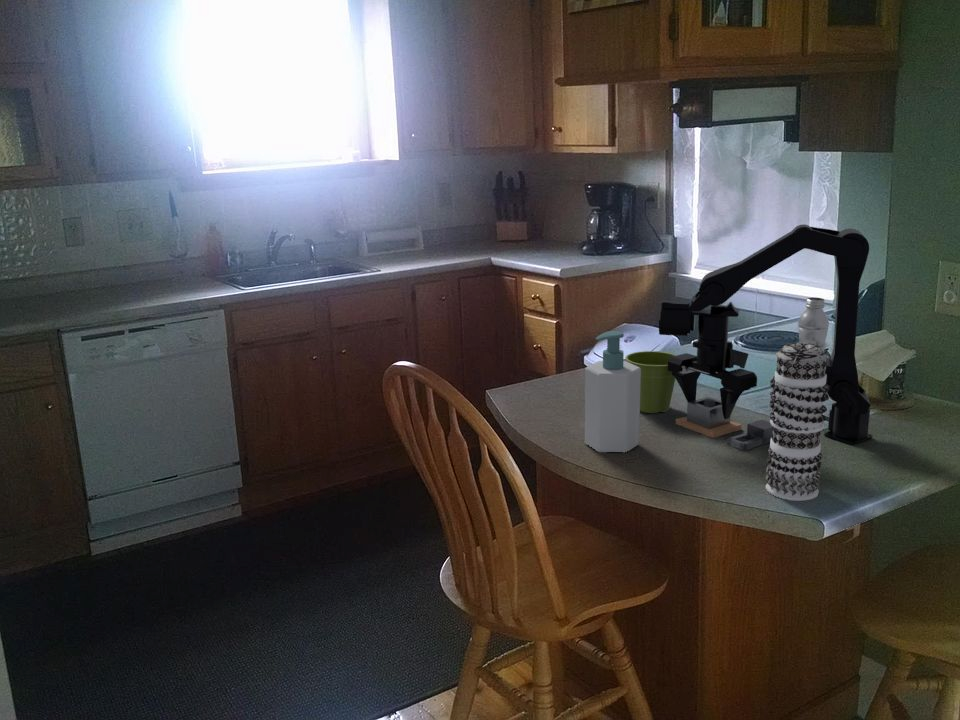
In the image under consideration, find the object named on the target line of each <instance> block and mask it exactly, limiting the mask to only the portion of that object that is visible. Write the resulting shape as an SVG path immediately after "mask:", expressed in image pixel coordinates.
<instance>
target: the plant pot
mask: <svg viewBox="0 0 960 720" xmlns="http://www.w3.org/2000/svg"><path fill="white" fill-rule="evenodd" d="M677 355H678V354H674V353H671V352H666V351H657V350H652V351H651V350H645V351H637V352H631V353H629V354H627V355H626V356H625V361H626V362H629V363H631V364H633V365H635V366H637V367H640V369H641V384H640V413H641V412H642V413H646V414H647V413H648V414H658V413H659V412H662V413H665V412H667V411H668V410H669V409H670V405H671V400H672V395H673V390H674V387H675V382H676V378H675V377H674V376H673V375H672V373H673V372H672V371H668V361H669V359H670V358H671V357H672V356H677Z"/></svg>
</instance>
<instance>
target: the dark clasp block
mask: <svg viewBox="0 0 960 720" xmlns="http://www.w3.org/2000/svg"><path fill="white" fill-rule="evenodd" d="M746 425H747V426H746V432H744V433H741V434H738V435H735V436H731V437H728V438H727V439H726V445H728V446H730V447H732V448H736V449H738V450H740V451H743V452H744V451H746V450H749V449H753V448H757V447H759V446H762V445H766V444H768V443H770V440H771V438H772V429H773V426H772V425H771V423H770V421H766V420H765V419H760V420H756V421H753V422H749V423H747V424H746Z"/></svg>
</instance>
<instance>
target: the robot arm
mask: <svg viewBox="0 0 960 720" xmlns="http://www.w3.org/2000/svg"><path fill="white" fill-rule="evenodd" d="M805 249H806V250H811V251H813V252H818V253H821V254H825V255H829V256H833V258H834V265H835V271H836V272H835V273H836V278H837V281H836V282H837V283H836V295H835V296H836V298H835V299H836V300H835V312H834V313H835V314H834V315H835V316H834V329H833V330H834V331H833V333H834V334H833V346H832V347H833V348H832V352H831V354H830V356H829V357H830V358H828V359H827V361H826V370H825V372H826V375H827V378H826V384H827V385H828V386H829V387H830V390H829V391H827V392H826V394H827V395H828V397H829V399H831V400H832V401H834V402H835V403H831V408H830V410H829V413H828V414H829V415H828V423H827V424H828V425H827V431H825V432H824V433H823V435H824V436H825V437H828V438H832V439H834V440H837V441H840V442H843V443H846V444H849V445H856V444H858V443H861V442H864V441H867V440H871V439H873V435H872V434H871V433H869V426H870V425H869V424H870V417H871V415H870V414H871V408H870V407H871V402H870V400H869V396H868V395H867V391H866V390H865V389H864V388H863V386H861V385H860V383H859V374H858V367H857V361H856V355H855V353H856V352H855V351H856V341H857V340H856V339H857V328H858V327H857V325H858V324H857V323H858V313H859V311H858V309H859V296H860V295H859V294H860V284H861V283H860V282H861V278H862V277H863V274H864V271H865V268H866V263H867V260H868V257H869V253H870V243H869V241H868V240H867V238H866V237H865V235H864V234H863V233H862V232H861V231H860V230H858V229H855V228H845V229H842V230H841V231H840V230H834V229H828V228H823V227H821V228H820V227H815V226H810V225H808V224H798V225H797V226H795V227H794V228H793V229H792V230H791V231H789V232H788V233H785V234H783V235H782V236H781V237H779V238H777V239H776V240H773V241H772V242H770V243H769V244H767V245H766V246H764V247H762V248H760V249H759V250H757V251H755V252H753V253H752V254H750V255H749V256H747V257H745V258H744V259H742V260H740V261H738V262H736V263H732V264H729V265H726V266H723V267H720V268H718V269H715V270H712V271H709V272H707V273H706V274H705V275H704V276H703V277H702V279H701V281H700V284H699V288H698V291H697V292H696V293H695V295H693V296H692V297H691V299H690V301H689V302H688V301H672V300H666V299H664V300H662V302H661V307H660V308H661V309H660V317H659V320H658V334H659V335H660V336H681V337H689V334H691V332H695V330H696V328H695V327H696V316H698V320H697V340H696V341H695V340H694V341H692V348H695V349H696V355H694V354H691V353H687V352H686V353H685V352H684V353H682V354H676V355H677V356H672V357H671V358H670V359H669V361H668V371H672V372H673V373H672V375H673V376H674V377H675V381H676V382H677V384H678V385H679V387H680V389H681V391H682V393H683V395H684V398H685V400H686V402H687V403H688V402H690V401H694V400H697V386H698V379H699V378H700V376H701V374H702V375H706V376H709V377H712V378H715V379H718V380H720V384H721V385H722V387H720V388H719V393H720V401H721V403H722V411H723V416H724V419H729V417H730V415H732V412H733V411H734V408H735V406H736V404H737V403H738V400H739V398H740V396H741V395H742V394H743V393H744V392H746V391H749V390H751V389H752V388H756V387H758V376H757V374H756V373H755V371H750V370H746V369H745V368H746V364H747V361H748V358H749V353H747V352H744V351H740V350H737V349H734V347H733V346H734V345H733V343H732V341H728V339H729V338H728V336H729V323H730V320H729V318H730V317H731V318H732V317H733V318H734V317H735V318H737V317H739V315H740V314H739V313H740V310H739V309H738V308H736V306H735V305H734V304H733V302H731V301H729V302H728V303H727V305H722V304H725V302H727V301H728V300H729V299H730V298H731V297H733V296H734V295H735V294H736V293H738V291H739V290H741V288H742V287H744V286H745V285H746V284H747V283H748V282H750V281H751V280H752V279H754V278H756V277H757V276H759V275H761V274H763V273H764V272H766V271H768V270H770V269H771V268H773V267H775V266H777V265H778V264H780V263H782V262H783V261H785V260H787V259H788V258H790V257H791V256H793V255H795V254H797V253H798V252H800V251H802V250H805ZM709 306H710V308H708V307H709ZM706 308H707V309H706ZM734 366H737V367H739V368H736V369H733V368H734ZM727 369H733V370H727Z"/></svg>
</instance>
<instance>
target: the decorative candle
mask: <svg viewBox="0 0 960 720" xmlns="http://www.w3.org/2000/svg"><path fill="white" fill-rule="evenodd" d="M775 356H776V358H777V361H776V370H775V371H774V376H773V378H772V379H770V381H769V382H770V384H769V387H770V388H771V389H772V390H771V391H770V393H769V394H770V395H769V396H770V399H771V400H770V401H769V408H771V411H770V412H769V416H770V417H769V418H770V420H769V422H770V423H771V425H772V426H773V429H772V438H771V440H770V442H769V443H770V444H769V447H768V449H767V454H768V457H767V461H766V462H767V463H768V465H767V467H766V470H765V471H766V477H765V482H766V485H765V490H766V489H767V490H766V492H767V491H768V492H769V493H768V492H767V493H768V494H770V493H771V494H772V496H773V495H774V496H773V497H775V496H776V498H778V497H779V498H778V499H781V498H782V499H781V500H786V499H787V501H793V502H794V501H795V502H796V501H797V502H798V501H799V502H803V501H810V500H813V499H815V498H817V497H818V496H819V493H820V491H819V489H818V488H819V487H820V485H819V484H820V478H821V472H820V471H819V469H821V467H822V462H821V460H822V459H823V458H822V455H823V454H822V452H821V448H822V443H821V432H822V430H823V429H824V428H825V423H824V422H825V421H826V419H827V417H826V416H825V414H824V413H826V412H827V411H828V408H827V407H826V405H824V404H823V402H826V401H829V399H830V397H829V396H828V393H827V391H829V390H830V387H829V386H828V385H827V384H826V378H827V375H826V372H825V370H826V361H827V359H830V358H829V357H830V356H829V355H828V354H826V353H825V351H824V352H823V350H822V349H821V348H820V347H819V346H817V345H815V344H810V343H802V342H799V341H798V342H788V343H786V344H785V345H783V347H782V348H781V350H778V351H776V353H775ZM771 494H770V495H771Z"/></svg>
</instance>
